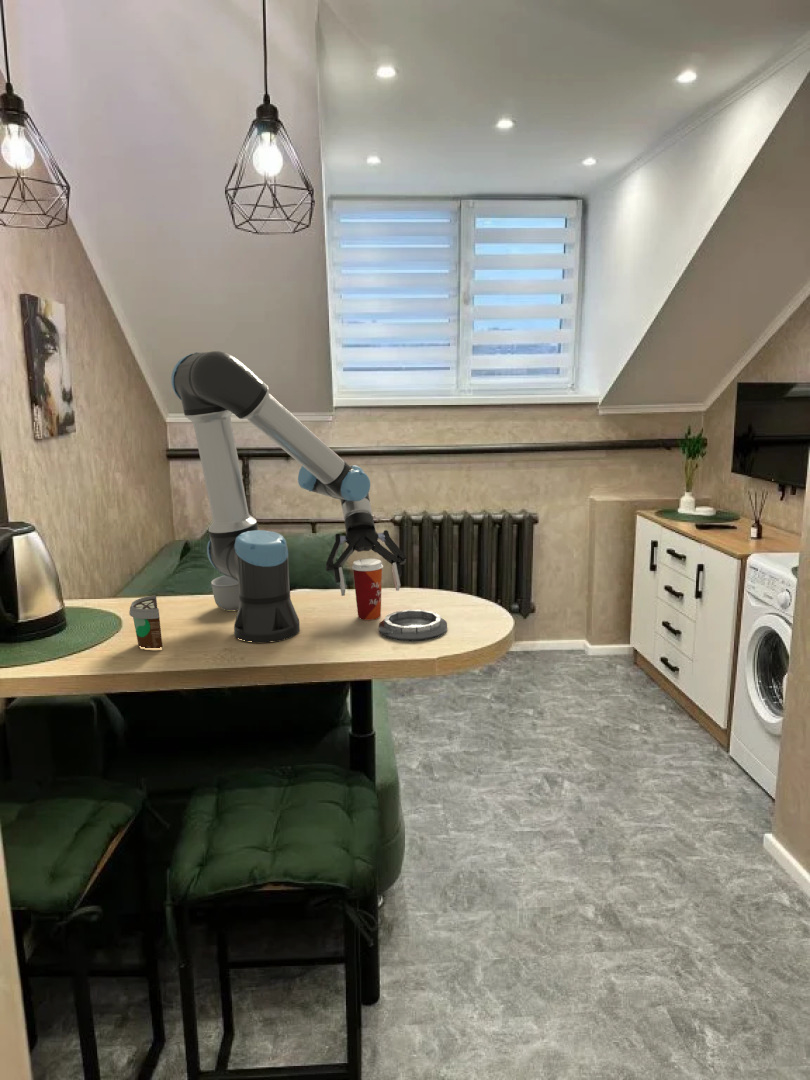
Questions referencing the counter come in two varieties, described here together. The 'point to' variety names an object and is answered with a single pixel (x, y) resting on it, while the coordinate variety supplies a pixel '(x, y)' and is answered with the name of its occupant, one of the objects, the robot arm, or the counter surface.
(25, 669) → the counter surface
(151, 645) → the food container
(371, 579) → the paper cup
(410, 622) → the rosette plate
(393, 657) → the counter surface
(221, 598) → the teacup
